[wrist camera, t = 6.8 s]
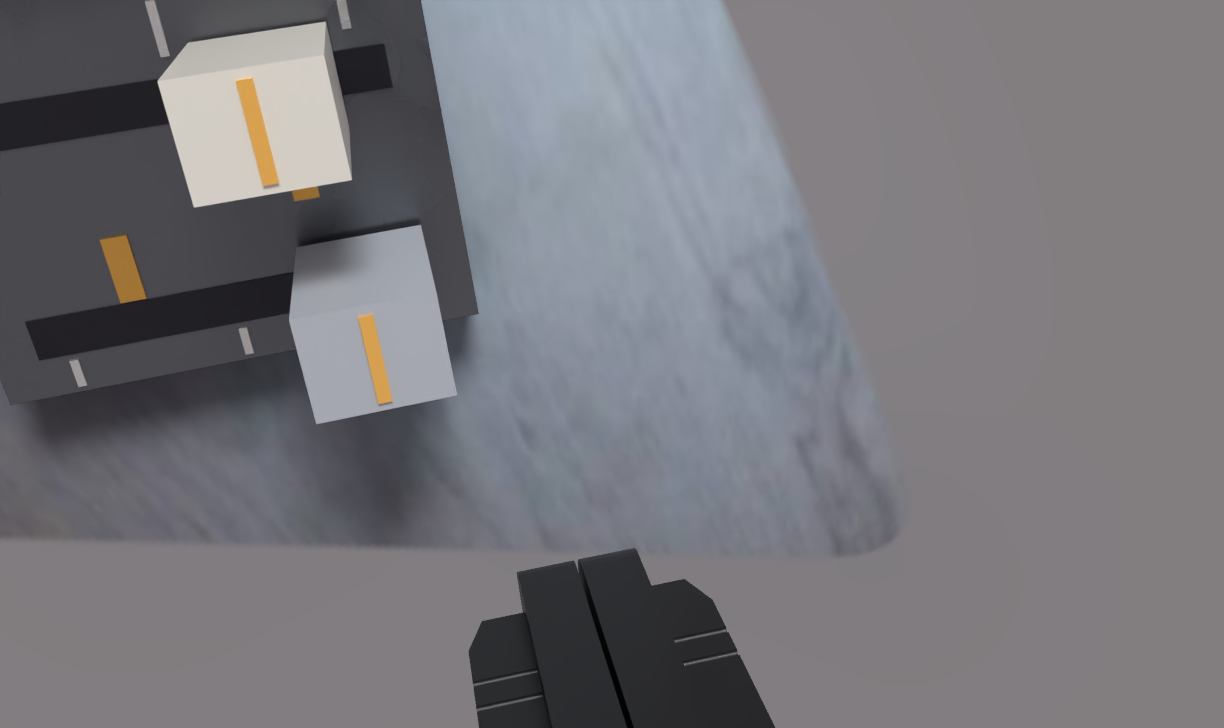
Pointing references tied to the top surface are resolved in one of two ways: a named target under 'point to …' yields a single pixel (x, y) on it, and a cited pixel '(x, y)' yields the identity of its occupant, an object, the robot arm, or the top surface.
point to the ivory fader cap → (258, 114)
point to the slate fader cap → (369, 325)
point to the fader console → (160, 199)
